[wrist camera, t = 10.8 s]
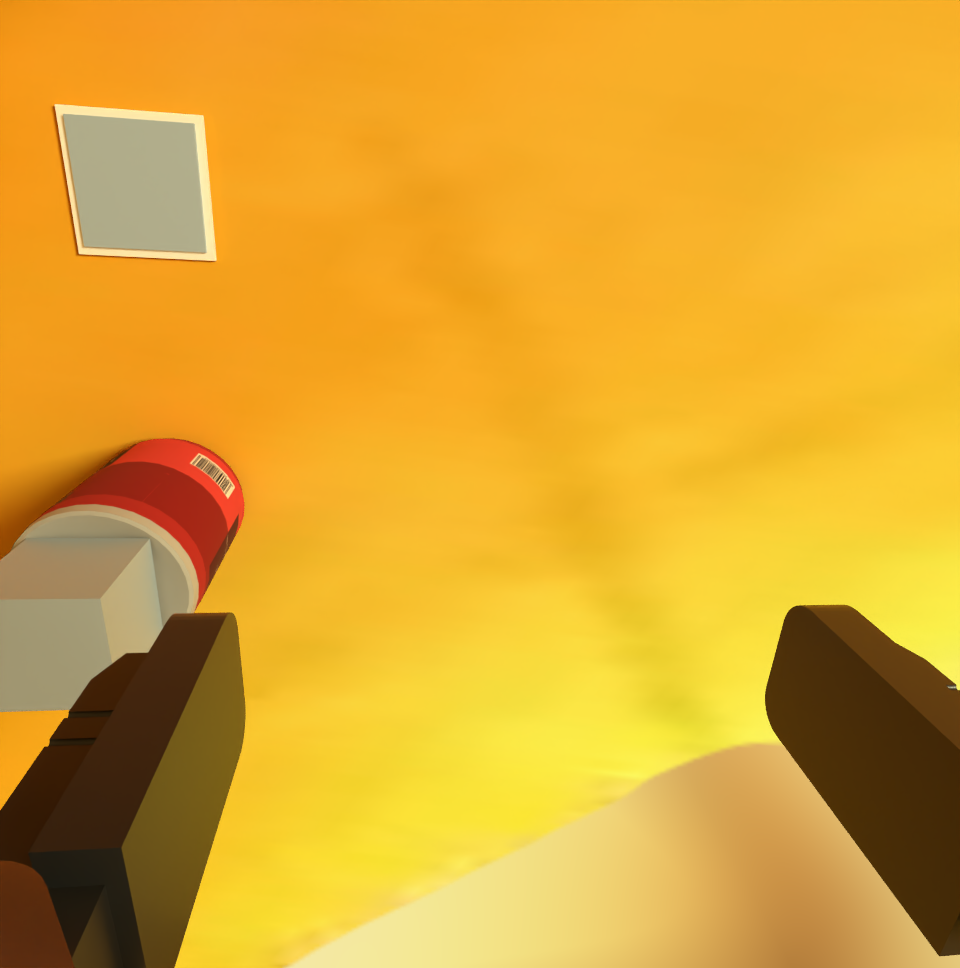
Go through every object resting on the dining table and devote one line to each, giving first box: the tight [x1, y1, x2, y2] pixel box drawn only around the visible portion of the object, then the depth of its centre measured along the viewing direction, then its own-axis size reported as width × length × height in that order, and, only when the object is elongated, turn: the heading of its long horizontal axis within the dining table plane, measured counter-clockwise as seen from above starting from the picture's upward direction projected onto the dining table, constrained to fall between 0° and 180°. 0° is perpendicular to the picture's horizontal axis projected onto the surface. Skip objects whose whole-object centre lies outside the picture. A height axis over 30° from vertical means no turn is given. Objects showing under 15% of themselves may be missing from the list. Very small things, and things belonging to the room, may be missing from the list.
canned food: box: [11, 439, 244, 627], centre depth 34 cm, size 8×8×11 cm
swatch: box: [55, 104, 217, 261], centre depth 33 cm, size 7×7×1 cm
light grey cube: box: [0, 538, 163, 712], centre depth 27 cm, size 5×5×5 cm
